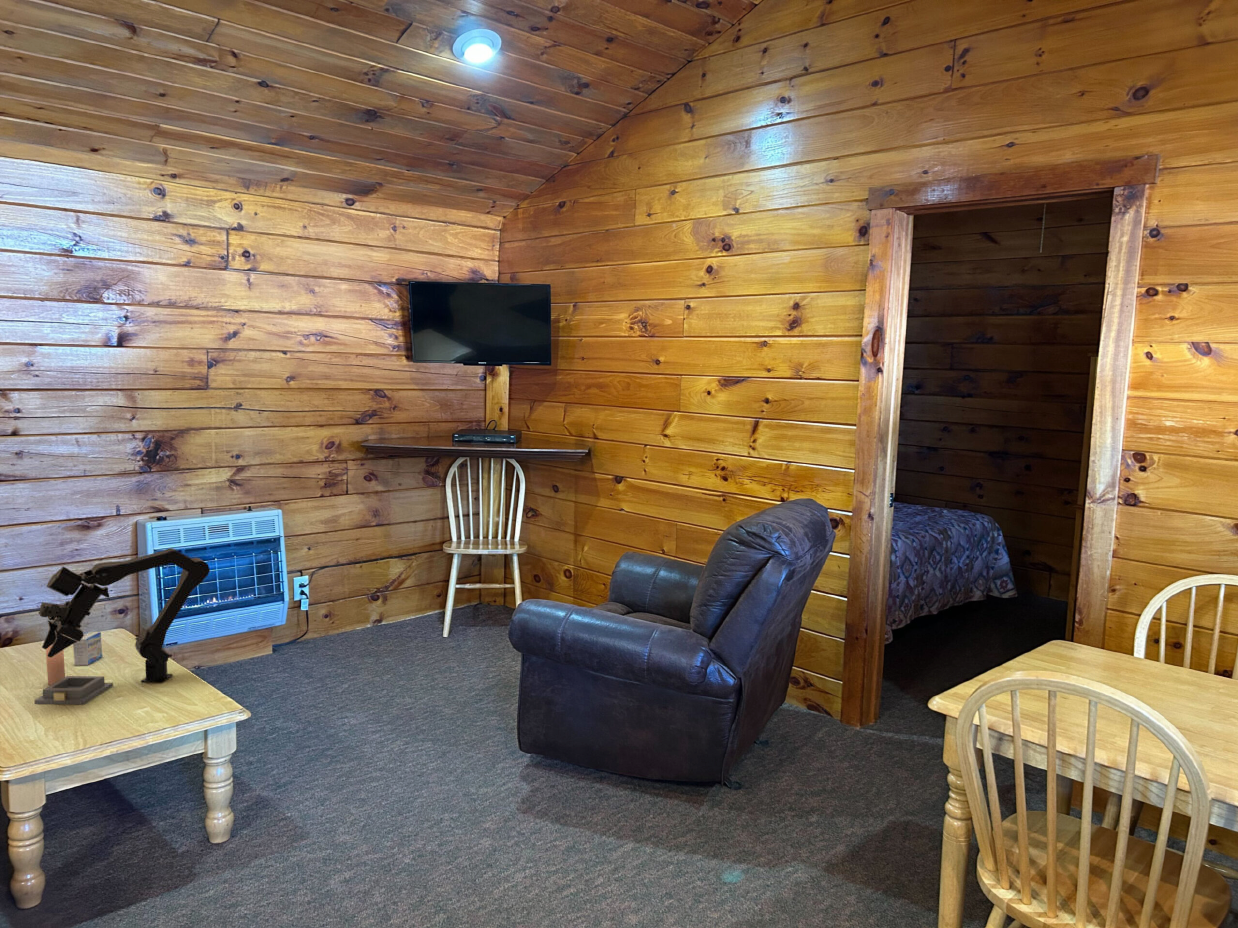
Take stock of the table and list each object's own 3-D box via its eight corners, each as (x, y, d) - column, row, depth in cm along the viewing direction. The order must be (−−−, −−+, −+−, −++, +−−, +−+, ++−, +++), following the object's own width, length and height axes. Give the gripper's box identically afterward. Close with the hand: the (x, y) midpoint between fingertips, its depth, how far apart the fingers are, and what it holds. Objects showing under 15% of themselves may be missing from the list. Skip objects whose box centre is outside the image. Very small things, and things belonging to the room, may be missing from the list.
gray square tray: (65, 685, 263) (65, 674, 263) (112, 685, 263) (112, 674, 263) (34, 703, 249) (33, 691, 249) (84, 704, 249) (83, 692, 249)
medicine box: (87, 665, 280) (86, 639, 279) (74, 665, 280) (72, 638, 279) (102, 657, 288) (101, 631, 287) (89, 657, 288) (87, 631, 287)
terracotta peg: (54, 680, 267) (51, 641, 266) (68, 680, 267) (66, 641, 266) (44, 685, 263) (42, 646, 262) (59, 685, 263) (56, 646, 262)
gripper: (48, 584, 257) (13, 632, 252) (60, 597, 243) (22, 648, 238) (85, 601, 263) (51, 648, 259) (98, 615, 249) (62, 665, 244)
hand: (46, 652), depth 250 cm, fingers open, 9 cm apart
